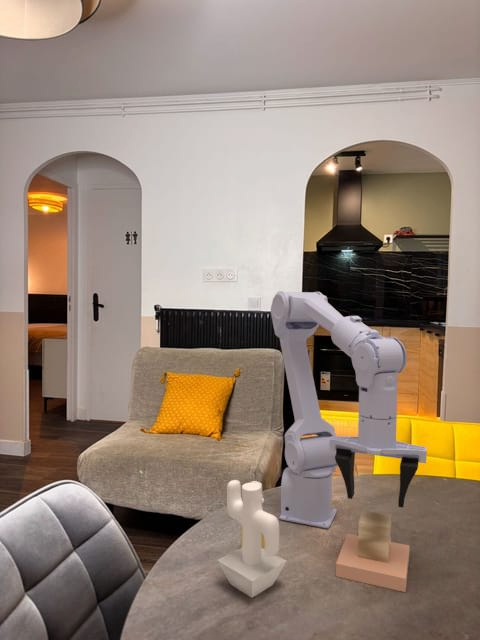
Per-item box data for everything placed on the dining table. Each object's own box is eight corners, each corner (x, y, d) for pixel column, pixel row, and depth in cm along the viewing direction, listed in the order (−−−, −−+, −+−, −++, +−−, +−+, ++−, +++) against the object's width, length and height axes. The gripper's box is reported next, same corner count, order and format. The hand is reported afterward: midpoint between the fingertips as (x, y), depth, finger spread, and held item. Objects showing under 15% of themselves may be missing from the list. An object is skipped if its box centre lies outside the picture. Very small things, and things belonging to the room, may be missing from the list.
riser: (335, 576, 72) (336, 563, 72) (347, 544, 81) (347, 533, 81) (405, 592, 68) (405, 578, 68) (409, 557, 77) (409, 545, 77)
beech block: (357, 557, 74) (358, 522, 73) (361, 543, 78) (362, 510, 78) (388, 563, 72) (388, 527, 72) (390, 548, 76) (391, 515, 76)
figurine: (257, 611, 64) (258, 501, 63) (211, 581, 70) (212, 481, 70) (292, 588, 69) (293, 487, 68) (246, 562, 75) (247, 469, 75)
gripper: (325, 416, 73) (324, 502, 74) (426, 426, 68) (424, 519, 68) (334, 406, 80) (333, 485, 80) (427, 415, 74) (425, 500, 75)
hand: (375, 500), depth 75 cm, fingers open, 7 cm apart
